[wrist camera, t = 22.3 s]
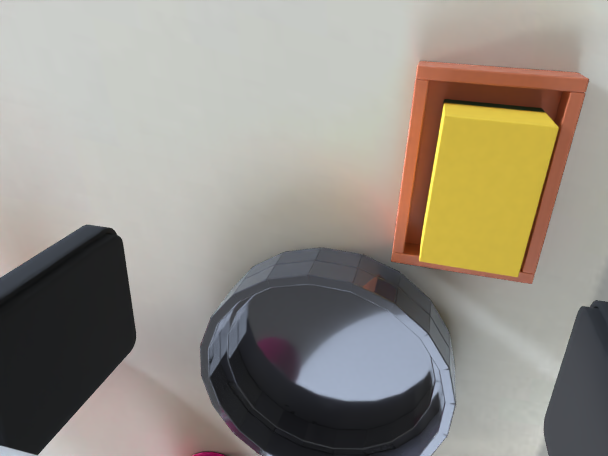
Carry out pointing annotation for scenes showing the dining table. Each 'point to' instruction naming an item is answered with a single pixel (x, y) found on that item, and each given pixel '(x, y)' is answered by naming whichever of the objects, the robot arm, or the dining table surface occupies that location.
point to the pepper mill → (208, 454)
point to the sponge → (485, 185)
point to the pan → (330, 359)
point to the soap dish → (488, 89)
